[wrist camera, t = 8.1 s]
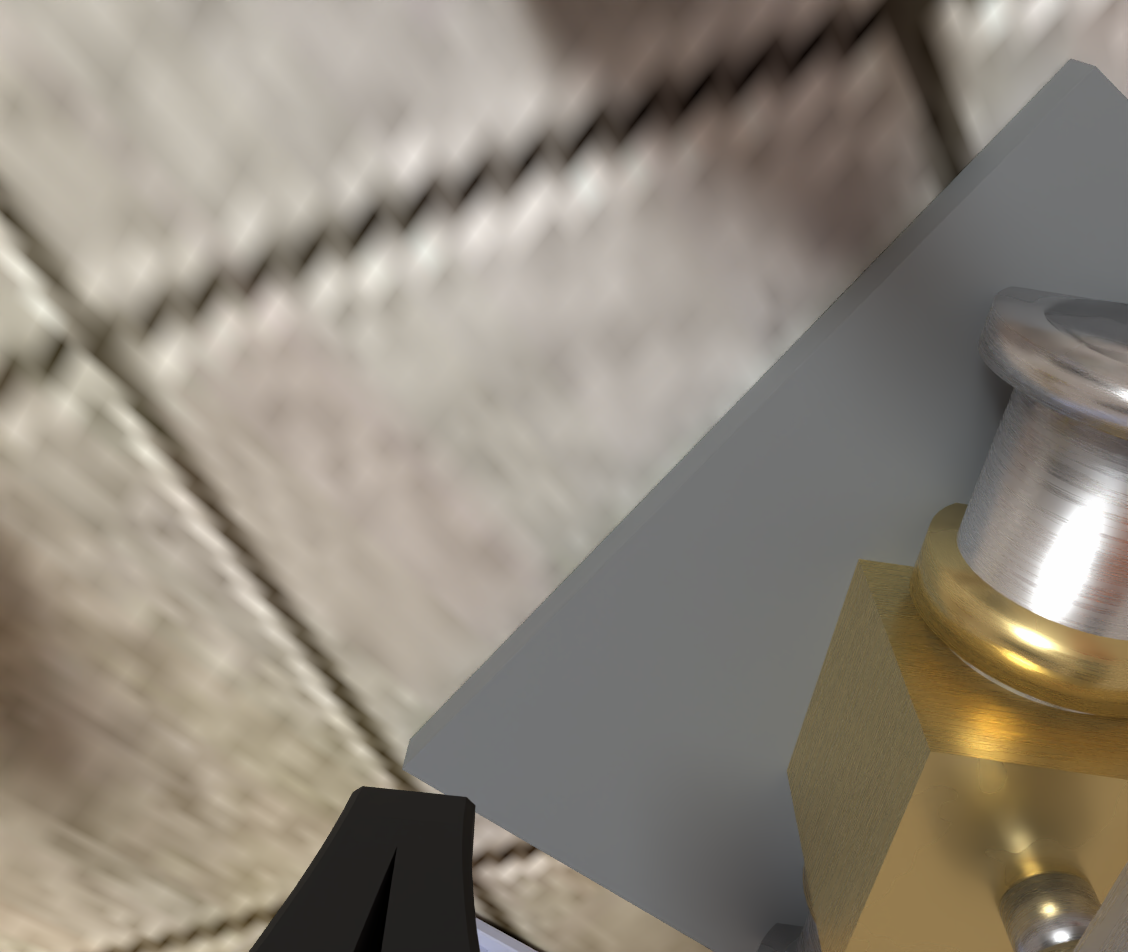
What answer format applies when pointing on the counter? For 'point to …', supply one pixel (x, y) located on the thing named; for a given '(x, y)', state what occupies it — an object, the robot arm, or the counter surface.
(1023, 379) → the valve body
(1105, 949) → the lever
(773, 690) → the mounting board
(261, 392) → the counter surface
